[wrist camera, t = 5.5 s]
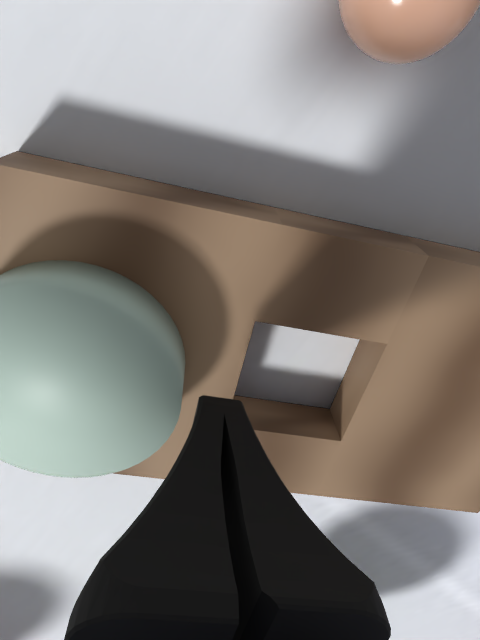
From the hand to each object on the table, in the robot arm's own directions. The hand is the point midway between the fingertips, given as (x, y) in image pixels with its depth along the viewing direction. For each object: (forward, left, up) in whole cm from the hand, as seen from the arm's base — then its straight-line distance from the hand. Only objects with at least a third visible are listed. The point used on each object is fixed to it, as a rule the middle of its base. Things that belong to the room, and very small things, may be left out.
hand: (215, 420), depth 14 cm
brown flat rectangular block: (-3, 0, -5) cm, 6 cm away
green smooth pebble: (+5, 0, -3) cm, 6 cm away
